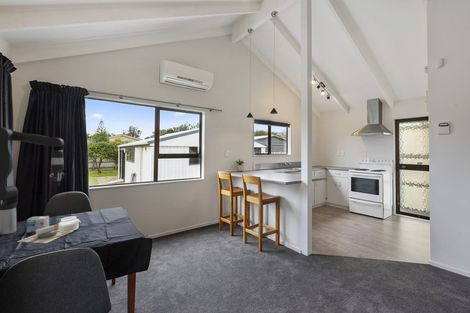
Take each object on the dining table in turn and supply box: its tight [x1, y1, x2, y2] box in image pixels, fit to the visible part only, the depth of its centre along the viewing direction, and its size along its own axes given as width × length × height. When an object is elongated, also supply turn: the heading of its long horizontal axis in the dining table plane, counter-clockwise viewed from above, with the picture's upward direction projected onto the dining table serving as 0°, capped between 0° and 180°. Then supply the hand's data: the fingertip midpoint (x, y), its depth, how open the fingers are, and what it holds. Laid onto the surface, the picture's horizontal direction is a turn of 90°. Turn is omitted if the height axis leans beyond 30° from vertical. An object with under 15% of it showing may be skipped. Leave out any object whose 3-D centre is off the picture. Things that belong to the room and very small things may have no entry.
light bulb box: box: [26, 215, 50, 233], centre depth 162 cm, size 11×7×11 cm, turn 105°
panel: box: [16, 229, 73, 244], centre depth 152 cm, size 20×22×2 cm
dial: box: [35, 224, 59, 238], centre depth 152 cm, size 12×10×6 cm
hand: (57, 185), depth 173 cm, fingers closed
